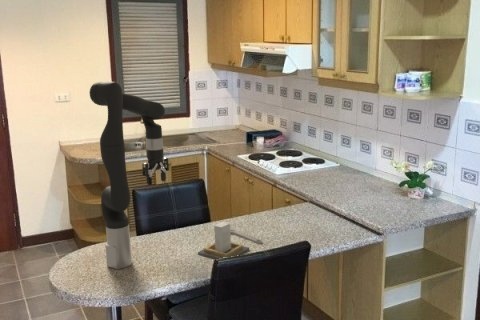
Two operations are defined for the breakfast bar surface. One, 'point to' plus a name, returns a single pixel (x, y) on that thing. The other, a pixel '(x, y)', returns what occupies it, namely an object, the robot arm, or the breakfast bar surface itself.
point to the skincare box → (222, 237)
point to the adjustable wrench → (245, 236)
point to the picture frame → (212, 253)
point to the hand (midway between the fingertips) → (156, 182)
